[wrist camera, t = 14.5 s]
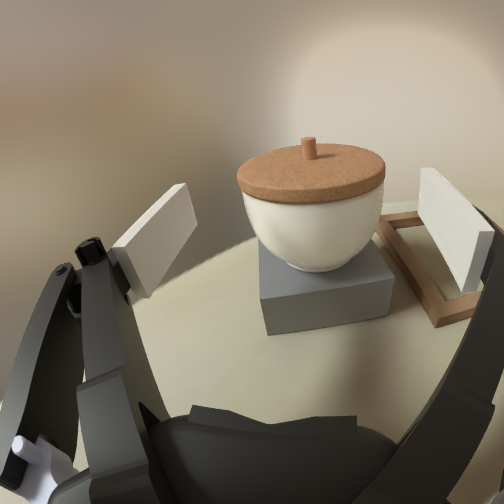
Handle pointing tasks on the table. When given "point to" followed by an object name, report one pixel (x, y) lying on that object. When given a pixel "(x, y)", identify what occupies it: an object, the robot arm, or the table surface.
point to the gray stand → (323, 292)
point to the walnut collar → (423, 272)
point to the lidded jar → (314, 202)
